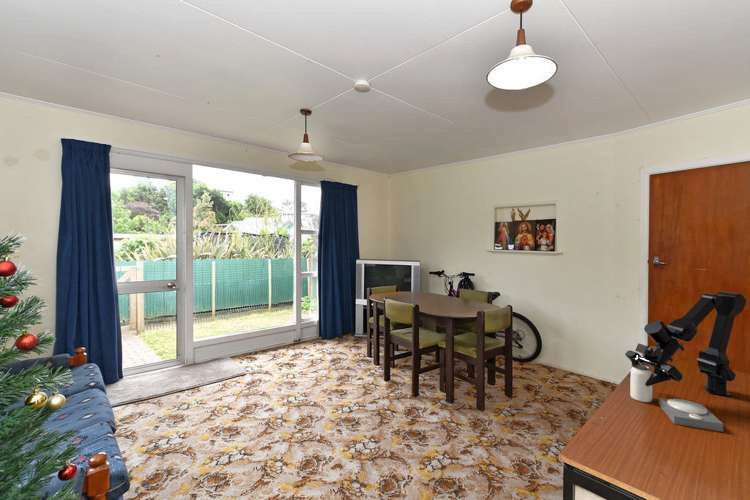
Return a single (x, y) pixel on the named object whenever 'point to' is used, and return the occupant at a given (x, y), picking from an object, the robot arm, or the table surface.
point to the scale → (690, 414)
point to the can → (640, 383)
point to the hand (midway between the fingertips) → (637, 381)
